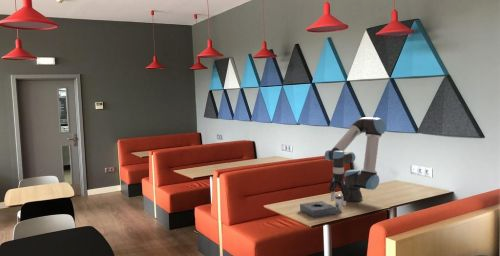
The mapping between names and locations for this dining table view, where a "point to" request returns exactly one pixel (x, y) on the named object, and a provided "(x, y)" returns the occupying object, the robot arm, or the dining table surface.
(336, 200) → the silver metal cylinder
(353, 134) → the robot arm
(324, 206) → the flange plate
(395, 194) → the dining table surface
